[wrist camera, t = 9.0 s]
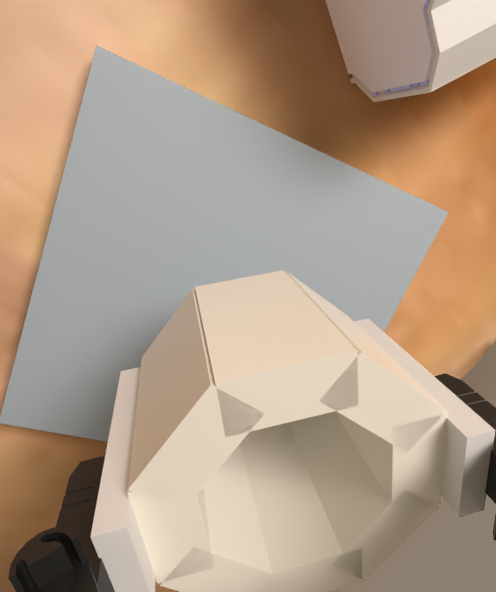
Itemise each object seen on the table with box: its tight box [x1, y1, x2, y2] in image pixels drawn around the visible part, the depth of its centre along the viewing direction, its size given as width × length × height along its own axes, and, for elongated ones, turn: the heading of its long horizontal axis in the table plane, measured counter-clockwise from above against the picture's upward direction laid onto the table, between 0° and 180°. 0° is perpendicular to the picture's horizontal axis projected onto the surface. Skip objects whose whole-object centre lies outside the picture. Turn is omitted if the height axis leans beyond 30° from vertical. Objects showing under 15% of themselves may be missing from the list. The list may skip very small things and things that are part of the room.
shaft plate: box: [0, 45, 449, 442], centre depth 18 cm, size 18×18×7 cm
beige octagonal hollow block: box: [127, 270, 448, 592], centre depth 13 cm, size 8×10×6 cm
